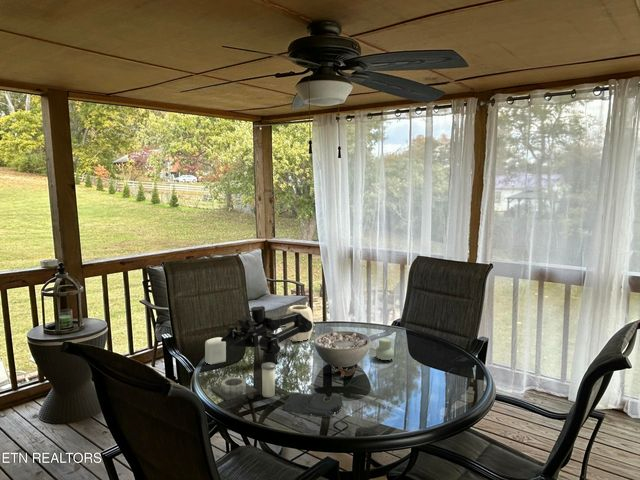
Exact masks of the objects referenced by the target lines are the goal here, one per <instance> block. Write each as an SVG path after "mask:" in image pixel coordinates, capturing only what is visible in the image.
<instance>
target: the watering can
mask: <svg viewBox="0 0 640 480" xmlns="http://www.w3.org/2000/svg"><path fill="white" fill-rule="evenodd" d="M308 304H309V302H308V301H306V302H305V304H297V305H296V304H294V305H291V306H289V307H287V310H286V312H285V315H286V314H290V313H292V312H298V313H301V314H302V315H303V316H304V317H305V318H306V319H308V320H309V321H311V322H312V329H311V331H309V332H306V333H298V334H296V335H294V336H292V337H290V338H288V340H290V341H291V340H292V341H291V342H297V341H302V342H304V341H303V340H307V339H308V340H310V339H311V336H312V333H313V327H314V314H313V313H314V312H313V310H312V308H311V307H310V306H309V305H308ZM293 325H294V323H293V322H291V323H288V324H285V329H287V328H289V327H291V326H293ZM308 340H307V341H308Z"/></svg>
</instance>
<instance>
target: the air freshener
mask: <svg viewBox="0 0 640 480" xmlns="http://www.w3.org/2000/svg"><path fill="white" fill-rule="evenodd" d="M376 356H377V357H376ZM375 357H376V358H378V359H377V360H379V359H381V360H380V361H382V360H389V361H392V360H394V359H395V351H394V347H392V339H390V338H389V337H388V338H387V337H382V338H379V341H378V346H377V347H376V348H375ZM391 359H392V360H391Z"/></svg>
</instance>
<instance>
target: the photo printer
mask: <svg viewBox="0 0 640 480" xmlns="http://www.w3.org/2000/svg"><path fill="white" fill-rule="evenodd" d="M222 338H223V337H220V336H218V337H213V338H210V339H207V340H205V342H204V363H205V362H206V363H208V364H210V365H215V364H221V363H224V362H227V354H226V353H227V349H226V347H227V341H226V342H221V339H222Z"/></svg>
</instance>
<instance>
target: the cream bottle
mask: <svg viewBox="0 0 640 480" xmlns="http://www.w3.org/2000/svg"><path fill="white" fill-rule="evenodd" d="M276 365H277V364H276ZM276 365H275V364H274V363H271V362H268V363H261V366H260V368H261V377H262V378H261V381H262V383H261V385H262V390H261V391H262V393H261V395H262V397H263V398H273V397H274V396H275V394H276V393H275V391H276V390H275V389H276V388H275V387H276V386H275V383H276V382H275V378H276V377H275V374H276V372H275V370H276V369H275V368H277V367H276Z"/></svg>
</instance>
